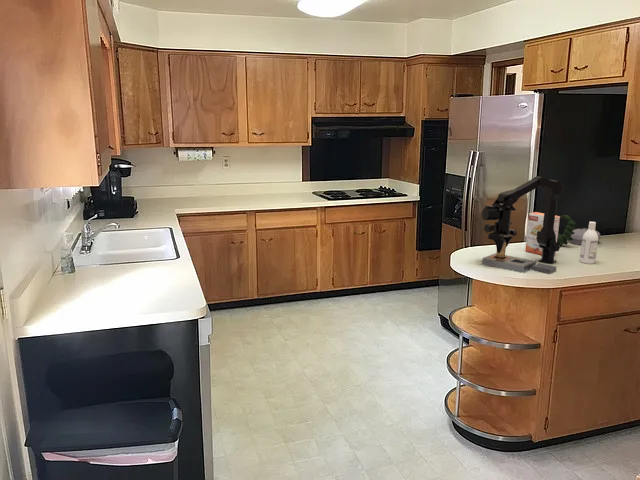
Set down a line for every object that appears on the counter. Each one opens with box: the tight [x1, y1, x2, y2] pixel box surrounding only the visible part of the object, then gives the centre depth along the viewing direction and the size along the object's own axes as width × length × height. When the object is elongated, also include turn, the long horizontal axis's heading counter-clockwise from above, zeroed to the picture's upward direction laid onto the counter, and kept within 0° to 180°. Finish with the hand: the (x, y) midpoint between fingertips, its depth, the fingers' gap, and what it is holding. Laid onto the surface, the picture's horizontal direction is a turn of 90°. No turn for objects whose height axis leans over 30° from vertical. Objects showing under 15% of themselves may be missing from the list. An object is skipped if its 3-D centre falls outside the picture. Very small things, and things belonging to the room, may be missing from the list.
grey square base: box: [531, 262, 557, 275], centre depth 239 cm, size 8×8×2 cm
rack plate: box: [481, 253, 537, 273], centre depth 246 cm, size 14×20×3 cm
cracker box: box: [524, 211, 561, 256], centre depth 269 cm, size 14×6×21 cm, turn 35°
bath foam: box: [579, 221, 599, 265], centre depth 254 cm, size 7×7×20 cm
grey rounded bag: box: [568, 227, 601, 245], centre depth 300 cm, size 15×8×20 cm
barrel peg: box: [495, 242, 507, 258], centre depth 248 cm, size 4×4×7 cm
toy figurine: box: [557, 214, 577, 246], centre depth 294 cm, size 9×19×25 cm
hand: (500, 252), depth 248 cm, fingers closed on barrel peg, 4 cm apart
